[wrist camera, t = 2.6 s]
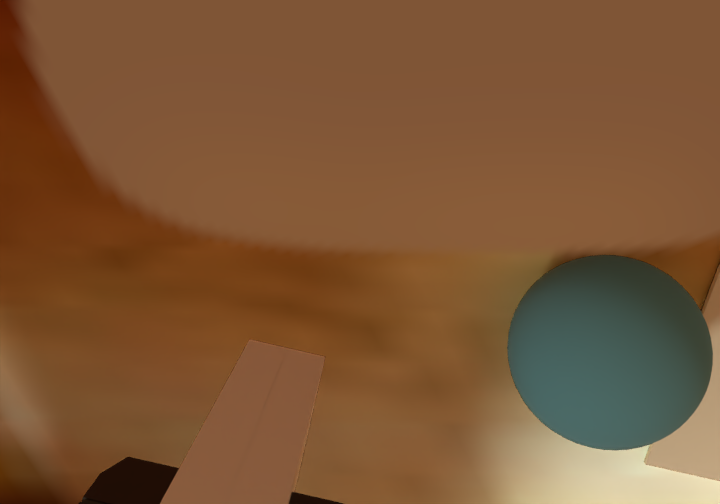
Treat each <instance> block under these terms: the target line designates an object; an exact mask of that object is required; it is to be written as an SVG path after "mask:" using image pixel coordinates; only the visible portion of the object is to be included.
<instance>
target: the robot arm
mask: <svg viewBox="0 0 720 504" xmlns="http://www.w3.org/2000/svg"><path fill="white" fill-rule="evenodd" d="M324 361H325V356H321V355H316V354H312V353H307V352H303V351H299V350H294V349H290V348H286V347H281V346H277V345H273V344H268V343H264V342H259V341H255V340H251V339H249V341H248V343H247V345H246V347H245V348H244V350H243V352H242V354H241V356H240V358H239V359H238V361H237V363H236V365H235V367H234V369H233V370H232V372H231V374H230V376H229V378H228V380H227V381H226V383H225V385H224V387H223V389H222V391H221V392H220V394H219V396H218V398H217V400H216V402H215V403H214V405H213V407H212V409H211V411H210V413H209V414H208V416H207V418H206V420H205V422H204V424H203V425H202V427H201V429H200V431H199V433H198V435H197V436H196V438H195V440H194V442H193V444H192V446H191V447H190V449H189V451H188V453H187V455H186V457H185V459H184V460H183V462H182V464H181V466H180V468H175V467H171V466H166V465H162V464H157V463H153V462H149V461H144V460H140V459H136V458H131V457H127V458H125V459H124V460H122V461H120V462H119V463H117V464H115V465H114V466H112V467H110V468H109V469H107V470H105V471H104V472H102V473H100V475H99V476H98V477H97V479H96V480H95V482H94V483H93V484H92V486H91V487H90V488H89V490H88V491H87V493H86V494H85V495H84V497H83V500H82V502H79V504H343V503H339V502H334V501H330V500H325V499H321V498H317V497H312V496H308V495H304V494H299V493H295V488H296V484H297V480H298V476H299V472H300V467H301V463H302V458H303V454H304V449H305V445H306V441H307V436H308V432H309V427H310V423H311V418H312V414H313V410H314V405H315V401H316V396H317V392H318V387H319V383H320V379H321V374H322V370H323V365H324Z"/></svg>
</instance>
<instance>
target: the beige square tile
mask: <svg viewBox="0 0 720 504" xmlns="http://www.w3.org/2000/svg"><path fill="white" fill-rule="evenodd" d="M701 312H702V314H703V316H704V319H705V321H706V323H707V326H708V329H709V333H710V337H711V342H712V350H713V365H712V372H711V378H710V382H709V385H708V388H707V391H706V393H705V395H704V397H703V399H702V401H701V403H700V404H699V406H698V408H697V409H696V411H695V412H694V413H693V414H692V416H691V417H690V418H689V419H688V420H687V421H686V422H685V423H684V424H683V425H682V426H681V427H680V428H679V429H677V430H676V431H674V432H673V433H672V434H670V435H668V436H667V437H665V438H663V439H661V440H659V441H657V442H654V443H652V444H650V446H649V449H648V451H647V454H646V457H645V459H644V463H645V464H646V465H651V466H655V467H659V468H664V469H668V470H673V471H677V472H682V473H686V474H691V475H695V476H700V477H704V478H708V479H713V480H717V481H720V264H719V266H718V269H717V272H716V274H715V277H714V279H713V282H712V285H711V287H710V290H709V292H708V295H707V298H706V300H705V303H704V305H703V308H702V311H701Z"/></svg>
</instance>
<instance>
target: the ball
mask: <svg viewBox="0 0 720 504" xmlns="http://www.w3.org/2000/svg"><path fill="white" fill-rule="evenodd" d="M507 349H508V361H509V366H510V371H511V375H512V378H513V381H514V383H515V386H516V388H517V390H518V392H519V393H520V395H521V397H522V399H523V401H524V402H525V404H526V405H527V406H528V408H529V409H530V410H531V411H532V413H533V414H534V415H535V416H536V417H537V418H538V419H539V420H540V421H541V422H542V423H543V424H545V425H546V426H547V427H548V428H550V429H551V430H552V431H554V432H556V433H557V434H559V435H561V436H562V437H564V438H566V439H568V440H570V441H573V442H575V443H577V444H581V445H584V446H588V447H592V448H597V449H603V450H627V449H633V448H638V447H643V446H646V445H649V444H652V443H654V442H657V441H659V440H661V439H663V438H665V437H667V436H668V435H670V434H672V433H673V432H674V431H676V430H677V429H679V428H680V427H681V426H682V425H683V424H684V423H685V422H686V421H687V420H688V419H689V418H690V417H691V416H692V414H693V413H694V412H695V411H696V409H697V408H698V406H699V404H700V403H701V401H702V399H703V397H704V395H705V393H706V391H707V388H708V385H709V382H710V378H711V372H712V365H713V350H712V342H711V337H710V333H709V329H708V326H707V323H706V321H705V319H704V316H703V314H702V312H701V311H700V309H699V307H698V306H697V304H696V302H695V301H694V299H693V298H692V297H691V296H690V295H689V293H688V292H687V291H686V290H685V289H684V288H683V287H682V286H681V285H680V284H679V283H678V282H677V281H676V280H674V279H673V278H672V277H671V276H669V275H668V274H666V273H664V272H663V271H661V270H660V269H658V268H656V267H654V266H652V265H650V264H647V263H645V262H643V261H639V260H636V259H632V258H628V257H622V256H616V255H596V256H588V257H583V258H579V259H575V260H572V261H569V262H566V263H564V264H562V265H560V266H558V267H555V268H554V269H552V270H551V271H549V272H548V273H546V274H545V275H543V276H542V277H541V278H540V279H539V280H537V281H536V282H535V283H534V284H533V285H532V286H531V288H530V289H529V290H528V291H527V292H526V294H525V295H524V297H523V298H522V300H521V301H520V303H519V305H518V307H517V309H516V310H515V313H514V316H513V318H512V321H511V325H510V329H509V335H508V347H507Z"/></svg>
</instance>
